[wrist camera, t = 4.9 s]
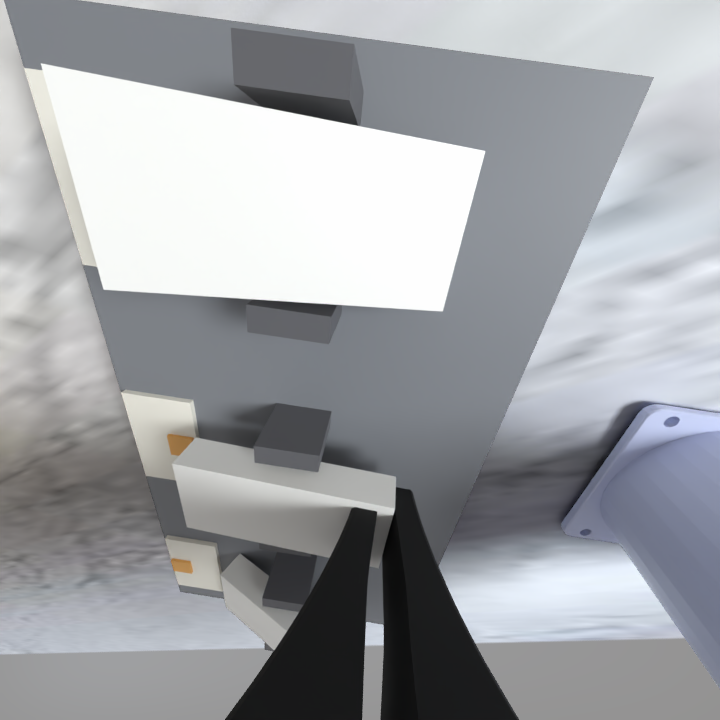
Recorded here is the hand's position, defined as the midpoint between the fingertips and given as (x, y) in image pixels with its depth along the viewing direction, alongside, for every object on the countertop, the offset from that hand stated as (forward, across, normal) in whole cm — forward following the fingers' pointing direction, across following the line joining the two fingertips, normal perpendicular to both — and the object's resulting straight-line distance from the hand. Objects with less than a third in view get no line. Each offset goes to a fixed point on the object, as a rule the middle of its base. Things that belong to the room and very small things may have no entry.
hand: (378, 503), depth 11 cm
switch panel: (+3, +3, 0) cm, 5 cm away
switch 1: (0, +3, -9) cm, 10 cm away
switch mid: (0, +3, 0) cm, 3 cm away
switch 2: (0, +3, +9) cm, 10 cm away
